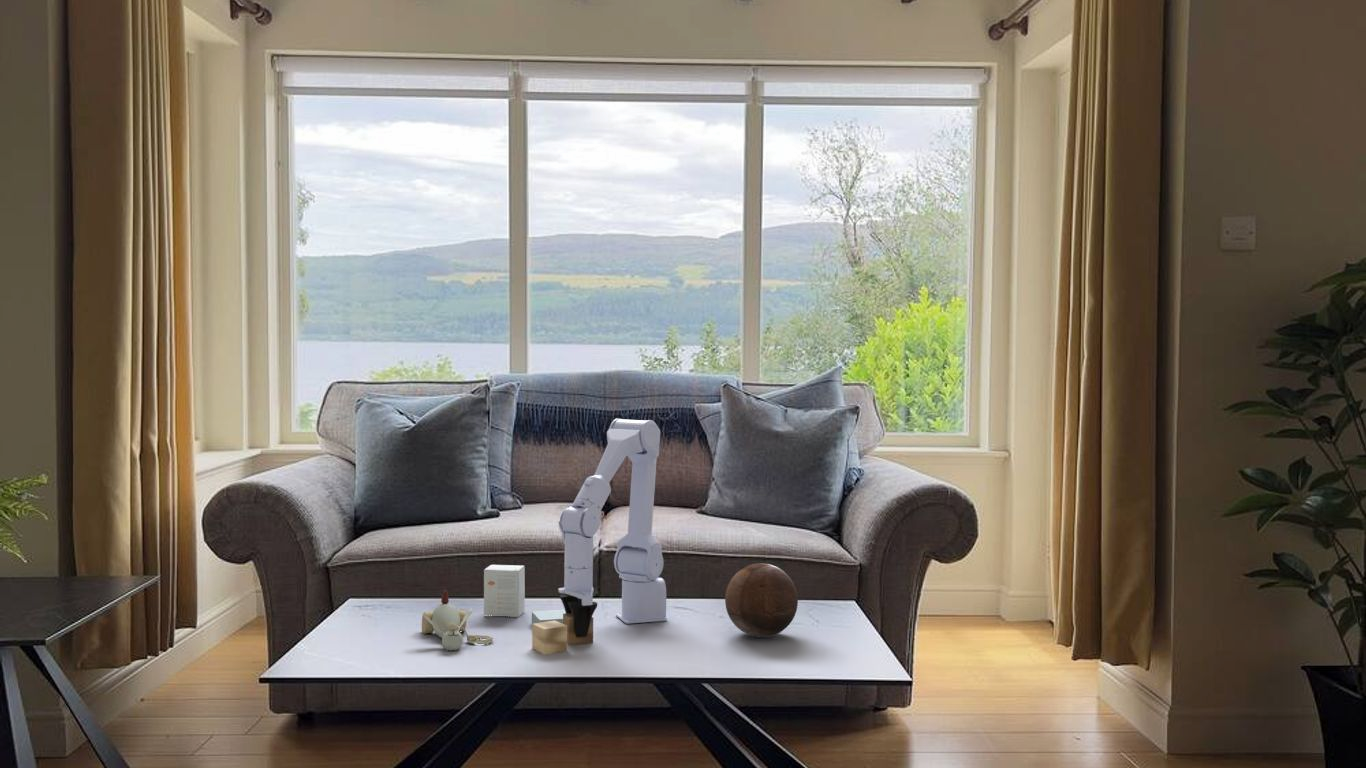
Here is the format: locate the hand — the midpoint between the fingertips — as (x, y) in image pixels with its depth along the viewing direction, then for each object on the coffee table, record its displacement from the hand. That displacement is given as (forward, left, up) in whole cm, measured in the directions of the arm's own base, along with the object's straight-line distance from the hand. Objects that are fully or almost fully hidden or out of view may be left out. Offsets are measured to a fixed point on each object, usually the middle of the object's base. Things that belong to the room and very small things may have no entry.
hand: (577, 633), depth 214 cm
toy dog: (+24, -9, -2) cm, 26 cm away
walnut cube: (0, 0, -1) cm, 1 cm away
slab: (+2, -12, -2) cm, 12 cm away
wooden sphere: (-37, +8, -2) cm, 38 cm away
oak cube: (+7, +5, -2) cm, 9 cm away
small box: (+10, -26, -2) cm, 28 cm away
